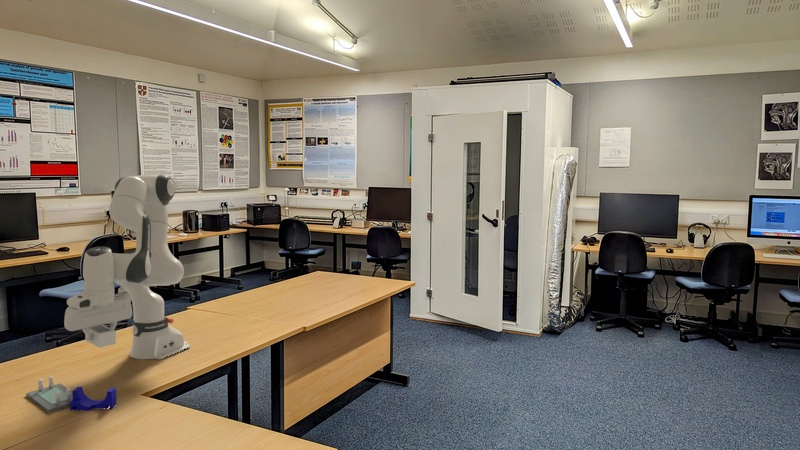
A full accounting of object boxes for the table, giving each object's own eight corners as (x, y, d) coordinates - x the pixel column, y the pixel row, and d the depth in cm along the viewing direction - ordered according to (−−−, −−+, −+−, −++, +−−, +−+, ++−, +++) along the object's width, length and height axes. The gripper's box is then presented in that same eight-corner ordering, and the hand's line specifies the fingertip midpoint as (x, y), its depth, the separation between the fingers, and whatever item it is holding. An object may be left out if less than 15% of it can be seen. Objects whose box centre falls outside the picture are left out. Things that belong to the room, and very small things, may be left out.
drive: (101, 336, 180) (100, 323, 179) (115, 343, 174) (115, 330, 173) (85, 340, 176) (85, 327, 175) (100, 347, 170) (99, 334, 169)
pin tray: (60, 386, 180) (59, 372, 179) (83, 401, 170) (82, 387, 169) (26, 396, 172) (25, 381, 171) (48, 413, 162) (47, 397, 161)
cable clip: (70, 411, 164) (69, 392, 163) (78, 404, 169) (77, 386, 168) (109, 411, 165) (109, 393, 164) (116, 405, 169) (116, 387, 169)
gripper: (126, 289, 183) (126, 327, 185) (61, 300, 166) (62, 342, 168) (135, 292, 179) (136, 331, 181) (70, 305, 163) (71, 347, 165)
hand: (100, 337), depth 175 cm, fingers closed on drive, 5 cm apart
